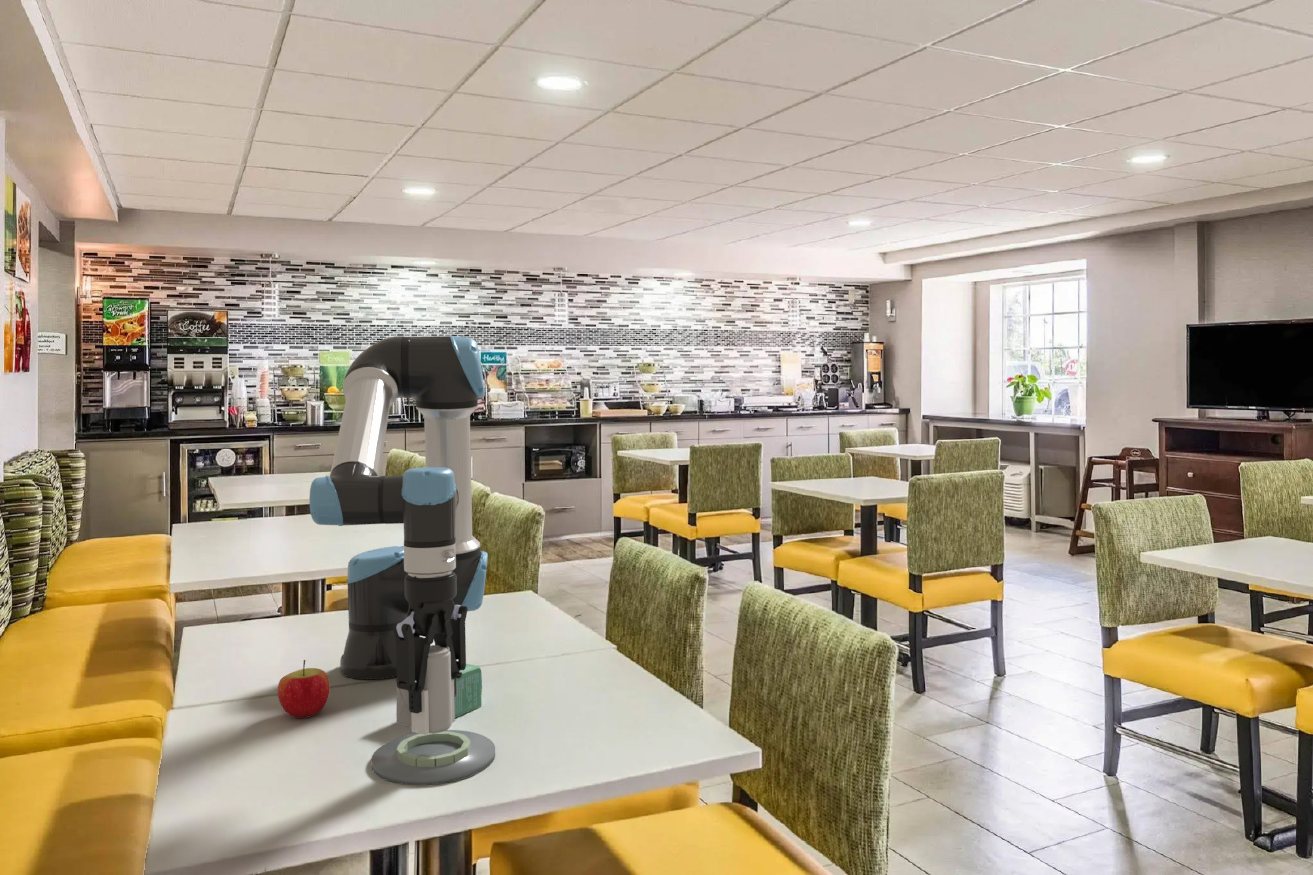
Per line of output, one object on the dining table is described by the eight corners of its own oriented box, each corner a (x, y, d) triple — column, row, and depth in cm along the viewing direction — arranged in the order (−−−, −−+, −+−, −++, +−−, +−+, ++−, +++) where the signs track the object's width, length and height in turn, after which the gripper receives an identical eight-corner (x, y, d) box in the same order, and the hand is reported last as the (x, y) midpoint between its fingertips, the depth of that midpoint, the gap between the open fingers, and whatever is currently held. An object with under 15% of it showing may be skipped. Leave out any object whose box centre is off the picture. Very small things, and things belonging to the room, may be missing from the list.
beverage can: (421, 722, 144) (420, 645, 144) (454, 721, 145) (452, 644, 144) (416, 735, 140) (414, 654, 139) (449, 733, 140) (448, 653, 139)
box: (483, 706, 165) (482, 664, 165) (429, 732, 154) (427, 687, 153) (451, 699, 169) (450, 658, 169) (395, 724, 157) (394, 680, 157)
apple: (281, 727, 156) (279, 667, 155) (275, 711, 163) (274, 654, 162) (334, 719, 159) (332, 660, 159) (326, 703, 167) (324, 647, 166)
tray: (345, 768, 139) (344, 753, 139) (431, 728, 155) (431, 715, 155) (437, 795, 130) (437, 779, 130) (519, 749, 146) (519, 735, 146)
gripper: (405, 586, 131) (408, 751, 133) (489, 564, 147) (491, 712, 148) (366, 581, 135) (370, 741, 136) (452, 559, 150) (455, 704, 152)
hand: (433, 726), depth 142 cm, fingers closed on beverage can, 5 cm apart
